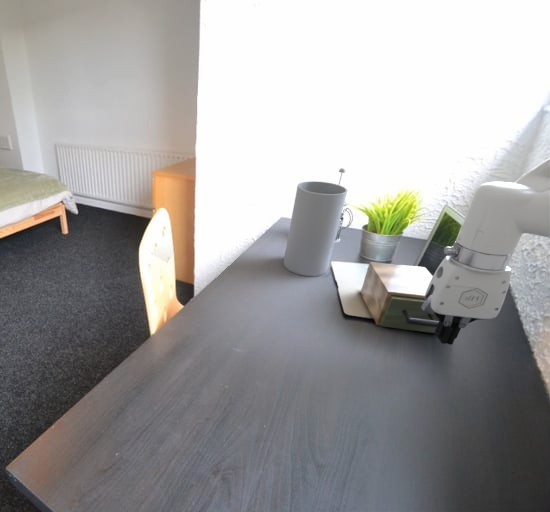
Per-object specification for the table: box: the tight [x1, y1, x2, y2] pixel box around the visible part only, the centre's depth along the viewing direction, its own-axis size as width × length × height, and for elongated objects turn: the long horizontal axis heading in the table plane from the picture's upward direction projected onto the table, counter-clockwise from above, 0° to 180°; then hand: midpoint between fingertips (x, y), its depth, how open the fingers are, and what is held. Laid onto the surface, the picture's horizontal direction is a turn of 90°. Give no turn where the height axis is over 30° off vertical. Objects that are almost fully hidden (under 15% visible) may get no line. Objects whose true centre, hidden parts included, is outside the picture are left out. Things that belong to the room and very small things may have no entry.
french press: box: [334, 167, 354, 244], centre depth 124 cm, size 10×12×25 cm
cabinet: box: [360, 261, 433, 326], centre depth 89 cm, size 15×13×10 cm
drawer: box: [380, 295, 439, 334], centre depth 86 cm, size 18×11×8 cm, turn 166°
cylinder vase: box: [283, 180, 348, 277], centre depth 106 cm, size 12×12×25 cm
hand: (443, 339), depth 71 cm, fingers closed
